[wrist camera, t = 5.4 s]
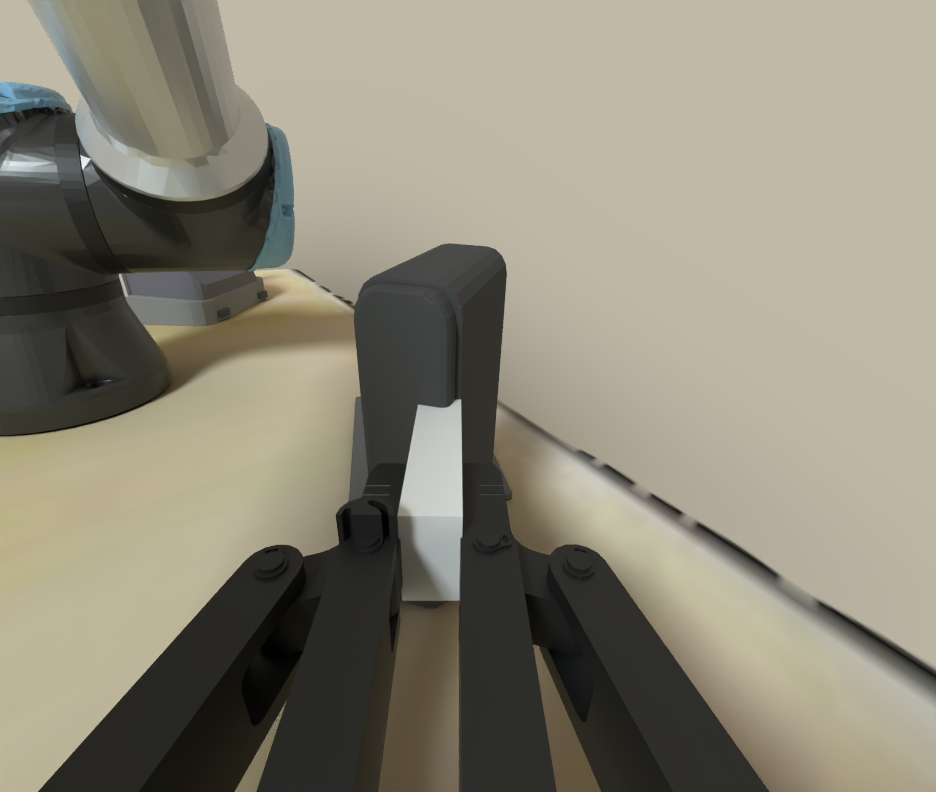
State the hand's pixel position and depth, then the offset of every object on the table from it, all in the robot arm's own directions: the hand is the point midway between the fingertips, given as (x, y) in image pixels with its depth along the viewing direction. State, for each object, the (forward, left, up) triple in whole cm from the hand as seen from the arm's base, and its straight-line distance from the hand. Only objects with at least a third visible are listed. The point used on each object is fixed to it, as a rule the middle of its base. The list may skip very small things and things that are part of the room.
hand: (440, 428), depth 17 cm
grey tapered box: (-62, -31, -10) cm, 70 cm away
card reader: (-4, +1, -10) cm, 11 cm away
